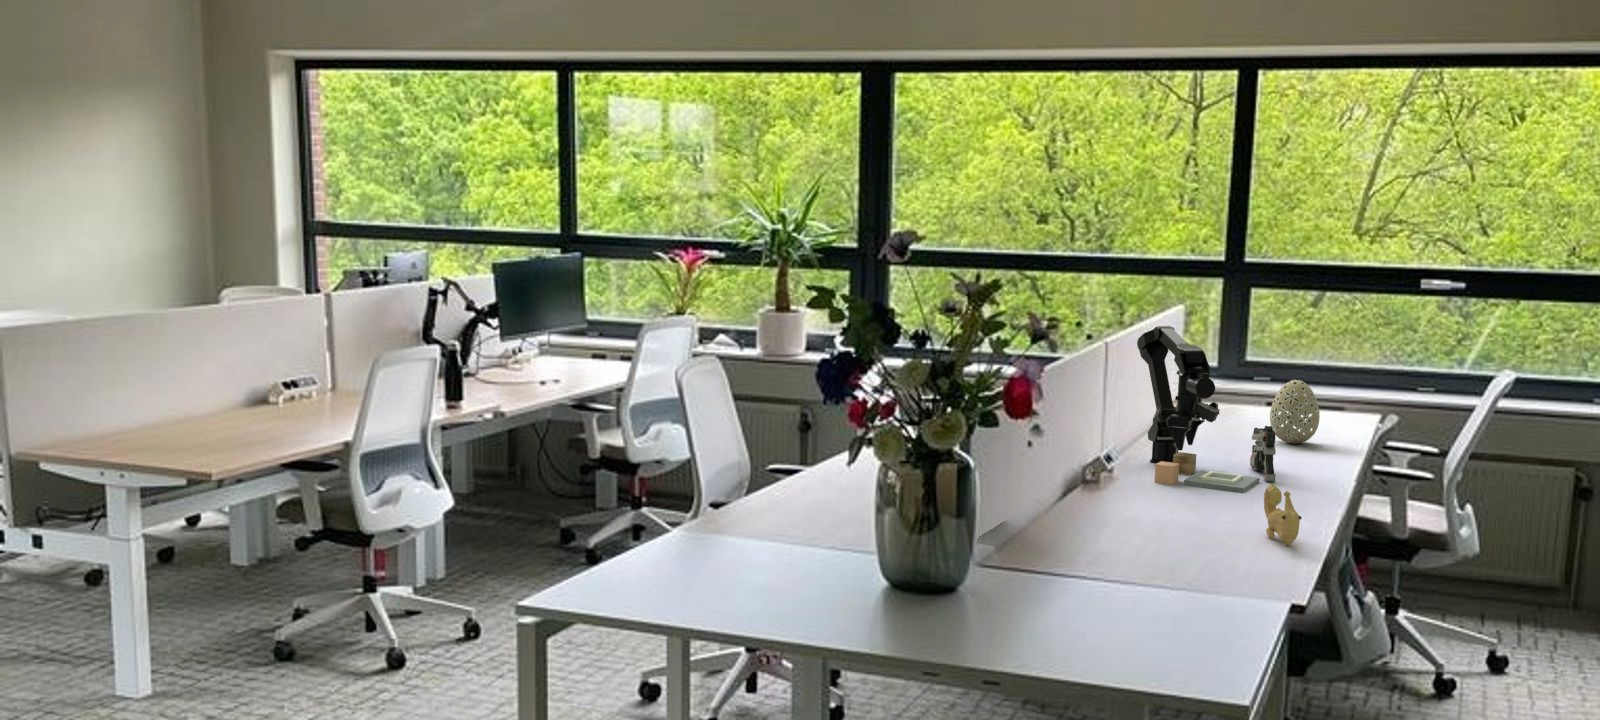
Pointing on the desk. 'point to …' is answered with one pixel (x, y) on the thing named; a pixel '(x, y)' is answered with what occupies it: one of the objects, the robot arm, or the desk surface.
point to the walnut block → (1185, 462)
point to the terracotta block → (1166, 472)
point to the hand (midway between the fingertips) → (1185, 447)
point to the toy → (1280, 515)
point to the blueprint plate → (1221, 481)
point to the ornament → (1294, 413)
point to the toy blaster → (1263, 452)
